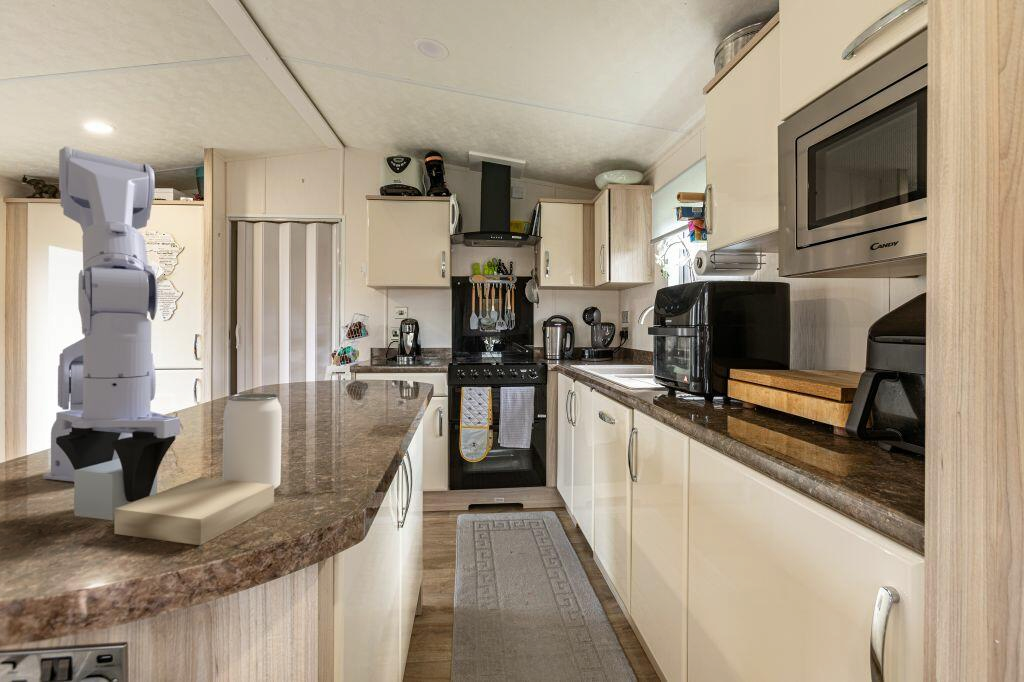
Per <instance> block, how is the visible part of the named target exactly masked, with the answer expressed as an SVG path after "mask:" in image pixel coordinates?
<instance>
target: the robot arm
mask: <svg viewBox="0 0 1024 682" xmlns="http://www.w3.org/2000/svg"><path fill="white" fill-rule="evenodd" d="M58 152H59V153H58V154H59V155H58V166H59V167H58V174H59V177H58V187H59V188H58V190H59V191H60V207H61V208H62V209H63V210H62V211H63V213H62V214H63V216H65V217H67V218H68V219H70V220H72V221H74V222H76V223H78V224H79V225H80V228H81V230H82V237H81V238H82V267H83V268H82V269H81V270H80V271H79V274H78V282H77V283H78V287H77V288H78V298H77V300H78V301H77V304H78V311H79V315H80V320H81V334H82V335H83V336H84V338H82V339H80V340H77V341H76V342H74V343H72V344H70V345H68V346H67V347H65V348H64V349H62V352H61V353H59V365H58V366H57V406H58V407H60V408H61V410H63V411H57V412H56V419H55V421H54V422H53V424H52V427H51V430H50V472H48V473H44V474H42V479H47V480H55V481H56V480H57V481H63V482H72V483H74V470H78V469H81V468H85V467H89V466H93V465H97V464H100V463H104V462H108V461H112V460H116V459H120V462H121V466H122V470H123V476H124V490H125V496H126V499H127V502H134V501H137V500H140V499H143V498H145V497H148V496H150V493H151V489H152V486H153V483H154V480H155V477H156V474H157V475H158V471H159V468H160V465H162V461H163V459H164V457H165V456H166V454H167V452H168V451H169V449H170V447H171V446H172V445H173V444H174V442H175V440H176V436H179V435H180V434H181V417H180V416H172V415H166V414H162V413H160V412H159V413H158V412H155V411H152V410H151V402H152V401H153V400H154V399H155V395H156V385H157V384H156V368H155V364H154V357H153V353H152V321H154V320H155V319H156V318H155V317H156V314H157V311H158V307H159V306H158V305H159V285H158V280H157V276H156V272H155V271H154V269H153V266H152V265H149V262H148V254H147V247H146V239H145V237H144V235H143V234H142V232H141V231H139V230H140V229H142V228H146V227H147V226H148V225H147V223H148V221H149V220H151V219H150V217H151V211H152V206H153V204H154V198H155V184H156V183H155V182H156V181H155V180H156V179H155V178H156V177H155V171H154V169H153V168H152V167H151V166H150V164H147V163H143V164H142V163H138V162H134V161H133V162H132V161H128V160H124V159H121V158H120V159H119V158H115V157H109V156H105V155H100V154H97V153H91V152H88V151H81V150H78V149H73V148H72V149H71V147H70V146H63V147H62V148H59V150H58ZM148 314H149V317H150V319H151V320H152V321H151V320H150V319H149V318H148Z"/></svg>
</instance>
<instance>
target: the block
mask: <svg viewBox="0 0 1024 682" xmlns="http://www.w3.org/2000/svg"><path fill="white" fill-rule="evenodd" d="M73 483H74V487H73V490H74V492H73V493H74V495H73V502H74V503H73V504H74V505H73V514H74V515H73V516H77V517H84V518H90V519H98V518H99V520H101V519H102V520H108V521H115V509H116V508H118V507H121V506H124V505H127V504H129V503H132V502H127V499H126V496H125V490H124V476H123V470H122V466H121V462H120V459H116V460H112V461H108V462H104V463H100V464H97V465H93V466H89V467H85V468H81V469H78V470H74V482H73ZM157 493H158V473H157V474H156V477H155V480H154V483H153V486H152V489H151V493H150V496H151V495H154V494H157ZM145 498H146V497H145ZM134 502H135V501H134Z"/></svg>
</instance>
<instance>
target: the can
mask: <svg viewBox="0 0 1024 682" xmlns="http://www.w3.org/2000/svg"><path fill="white" fill-rule="evenodd" d="M227 400H228V401H227V404H226V405H225V406H224V409H223V420H222V421H223V424H222V425H223V426H222V427H223V429H222V479H223V480H232V481H242V482H252V483H262V484H271V485H274V491H276V490H277V489H278V487H279V486H280V485H281V474H282V473H281V471H282V464H281V463H282V421H283V419H282V415H283V414H282V406H281V403H280V402H279V394H275V393H264V392H263V393H262V392H261V393H259V392H258V393H241V394H233V395H230V396H228V397H227Z"/></svg>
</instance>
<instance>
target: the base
mask: <svg viewBox="0 0 1024 682" xmlns="http://www.w3.org/2000/svg"><path fill="white" fill-rule="evenodd" d="M273 507H275V490H274V485H271V484H262V483H252V482H242V481H232V480H223V478H222V479H221V478H212V477H211V478H210V477H197V478H195V479H193V480H189V481H187V482H184V483H182V484H179V485H176V486H173V487H171V488H168V489H165V490H162V491H160V492H157V494H154V495H151V496H148V497H146V498H143V499H140V500H137V501H135V502H132V503H129V504H127V505H124V506H121V507H118V508H116V509H115V519H114V534H115V535H121V536H128V537H135V538H144V539H150V540H151V539H152V540H158V541H164V542H165V541H166V542H173V543H180V544H181V543H182V544H188V545H195V546H196V545H197V546H202V545H204V544H206V543H208V542H210V541H211V540H213V539H215V538H217V537H219V536H221V535H222V534H225V533H227V532H228V531H230V530H232V529H234V528H236V527H237V526H240V525H241V524H243V523H245V522H246V521H248V520H250V519H253V518H254V517H257V516H258V515H260V514H262V513H264V512H265V511H267V510H269V509H271V508H273Z"/></svg>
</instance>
